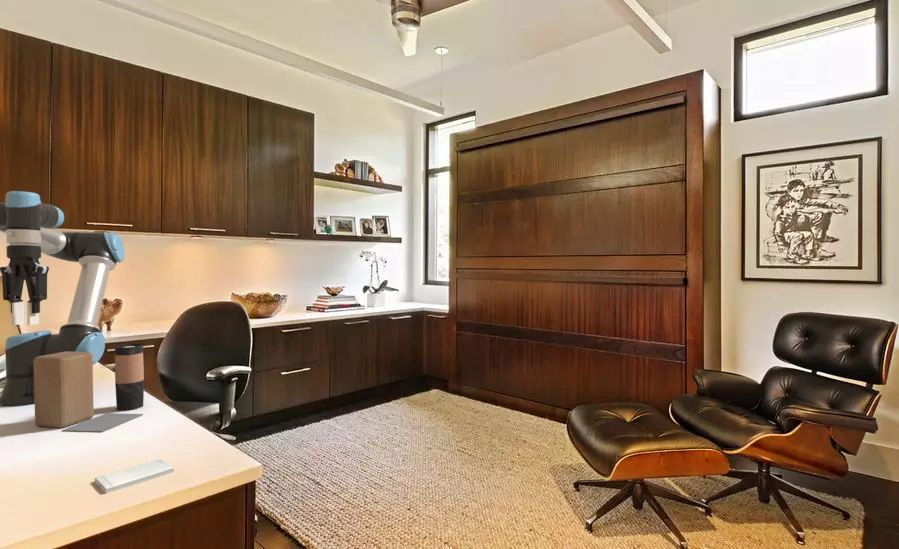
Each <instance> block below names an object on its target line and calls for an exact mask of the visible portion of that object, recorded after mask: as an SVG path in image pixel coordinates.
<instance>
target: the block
mask: <svg viewBox="0 0 899 549" xmlns="http://www.w3.org/2000/svg"><path fill="white" fill-rule="evenodd" d="M93 365H94V364H93V357H92V353H89V352H69V351H66V352H60V353H55V354H49V355H43V356H38V357H36V358H34V399H35V403H34V425H36V427H47V428H59V429H64V428H67V427H70V426H73V425H76V424H79V423H82V422H85V421H87V420H90V419H93V418H94V415H95V414H94V410H95V409H94V369H93ZM75 423H76V424H75ZM72 424H73V425H72ZM69 425H70V426H69ZM66 426H67V427H66ZM63 427H64V428H63Z"/></svg>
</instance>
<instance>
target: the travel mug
mask: <svg viewBox="0 0 899 549" xmlns="http://www.w3.org/2000/svg"><path fill="white" fill-rule="evenodd" d="M144 369H145V368H144V344H143V343H142V344H141V343H129V344H121V345H117V346H116V347H114V376H115V377H114V378H115V379H114V381H115V382H114V383H115V398H116V399H115V401H116V403H115V404H116V411H120V412H124V411H133V410H138V409H140V408H143V407H144V400H145V397H144V396H145V395H144V393H145V390H144V389H145V388H144V387H145V386H144V385H145V374H144V372H145V371H144Z"/></svg>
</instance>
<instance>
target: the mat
mask: <svg viewBox="0 0 899 549" xmlns="http://www.w3.org/2000/svg"><path fill="white" fill-rule="evenodd" d="M142 416H144V413H119V412H118V413H117V412H116V413H115V412H114V413H112V412H111V413H110V412H108V413H107V412H106V413H104V414H101V415H98V416H96V417H92V418H90V419H87V420H85V421H82V422H79V423H76V424H73V425H71V426H68V427H65V428H63V429H62V430H61V432H74V431H75V432H78V433H80V432H81V433H82V432H83V433H85V432H86V433H104V432H106V430H107V431H108V430H111V429H114V428H116V427H119V426H120V425H123V424H125V423H128V422H130V421H132V420H134V419H137V418H140V417H142Z"/></svg>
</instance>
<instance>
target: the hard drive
mask: <svg viewBox="0 0 899 549" xmlns="http://www.w3.org/2000/svg"><path fill="white" fill-rule="evenodd" d="M172 472H174V473H175V468H174V467H173V466H172V465H171V464H169V462H167V461H165V460H163V459H162V458H158V459H155V460H151V461H149V462H145V463H142V464H139V465H135V466H131V467H128V468H125V469H122V470H117V471H115V472H114V471H113V472H110V473H107V474H104V475H101V476H97V477H94V483H95V484H96V485H97V486H98V487H99V488H100V489H101V490H102V491H103V492H104V493H105V494H109V493H112V492H116V491H119V490H122V489H125V488H128V487H132V486H134V485H139V484H141V483H145V482H147V481H148V482H149V481H150V480H155V479H157V477H158V478H160V476H161V477H164V476H167V475H169V473H171V474H173V473H172ZM166 474H167V475H166ZM163 475H164V476H163ZM154 478H155V479H154Z"/></svg>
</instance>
